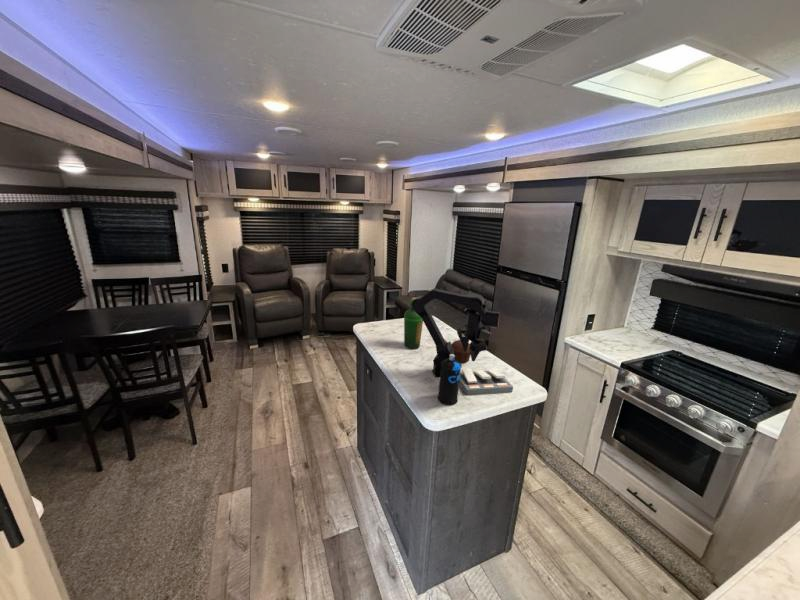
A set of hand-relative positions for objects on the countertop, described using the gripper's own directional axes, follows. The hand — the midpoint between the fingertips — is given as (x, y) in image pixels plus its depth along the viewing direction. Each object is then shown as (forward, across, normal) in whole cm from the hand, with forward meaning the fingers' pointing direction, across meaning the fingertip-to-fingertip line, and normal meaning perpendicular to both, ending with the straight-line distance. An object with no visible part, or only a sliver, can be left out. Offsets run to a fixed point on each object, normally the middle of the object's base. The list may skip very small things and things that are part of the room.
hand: (468, 356), depth 138 cm
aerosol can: (+12, -13, +14) cm, 23 cm away
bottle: (+12, +37, +16) cm, 42 cm away
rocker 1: (+8, -4, 0) cm, 9 cm away
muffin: (+12, +19, -5) cm, 23 cm away
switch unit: (+12, -5, -6) cm, 14 cm away
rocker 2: (+8, -4, -6) cm, 11 cm away
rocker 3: (+8, -4, -13) cm, 15 cm away
